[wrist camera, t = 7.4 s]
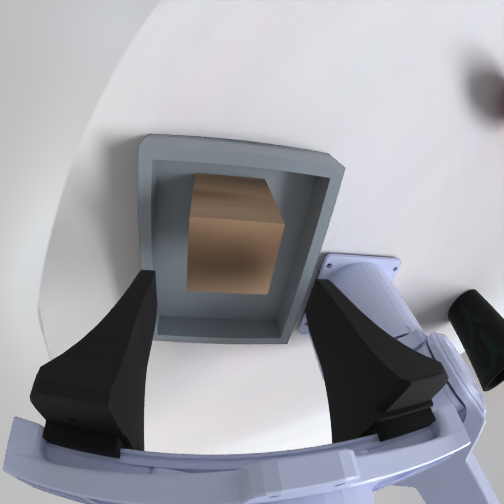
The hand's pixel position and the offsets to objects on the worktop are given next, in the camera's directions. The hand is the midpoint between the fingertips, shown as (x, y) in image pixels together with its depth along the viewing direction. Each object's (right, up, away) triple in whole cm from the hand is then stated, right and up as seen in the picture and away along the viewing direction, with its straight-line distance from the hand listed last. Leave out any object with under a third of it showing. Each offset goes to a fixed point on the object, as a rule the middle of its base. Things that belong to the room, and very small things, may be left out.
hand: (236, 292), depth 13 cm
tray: (-1, +2, +9) cm, 10 cm away
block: (-1, +5, +7) cm, 8 cm away
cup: (+29, -5, +19) cm, 35 cm away
